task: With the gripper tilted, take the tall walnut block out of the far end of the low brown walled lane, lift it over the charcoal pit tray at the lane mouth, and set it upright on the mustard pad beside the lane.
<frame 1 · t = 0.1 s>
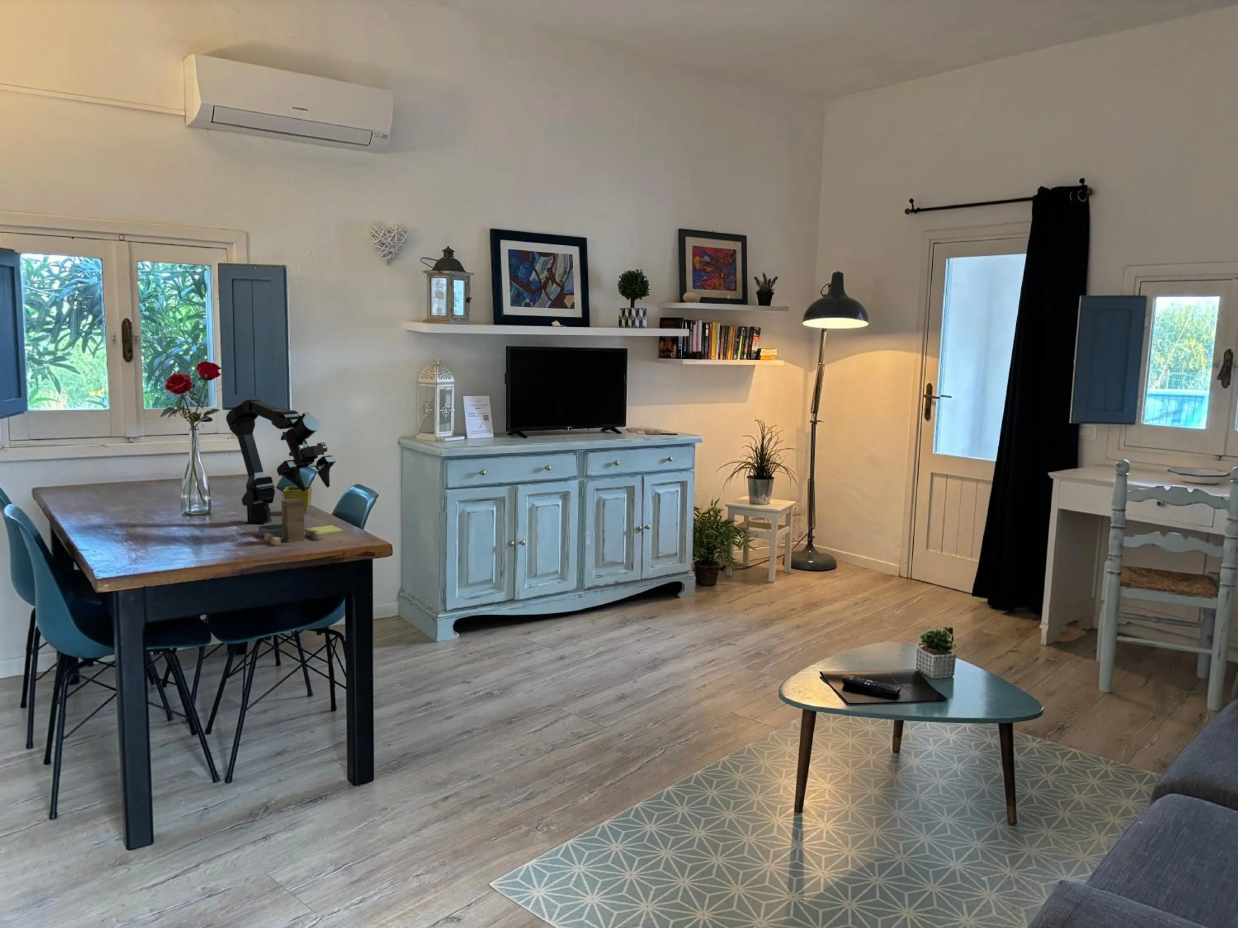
hand: (316, 488, 286), 15 cm above the table, tool tilted 35°, fingers open, 9 cm apart
flower pot: (298, 513, 322), on the table
brown lane walls: (293, 539, 279), on the table
charcoal pit tray: (277, 534, 286), on the table
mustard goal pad: (324, 530, 293), on the table
walnut block: (293, 540, 279), on the table
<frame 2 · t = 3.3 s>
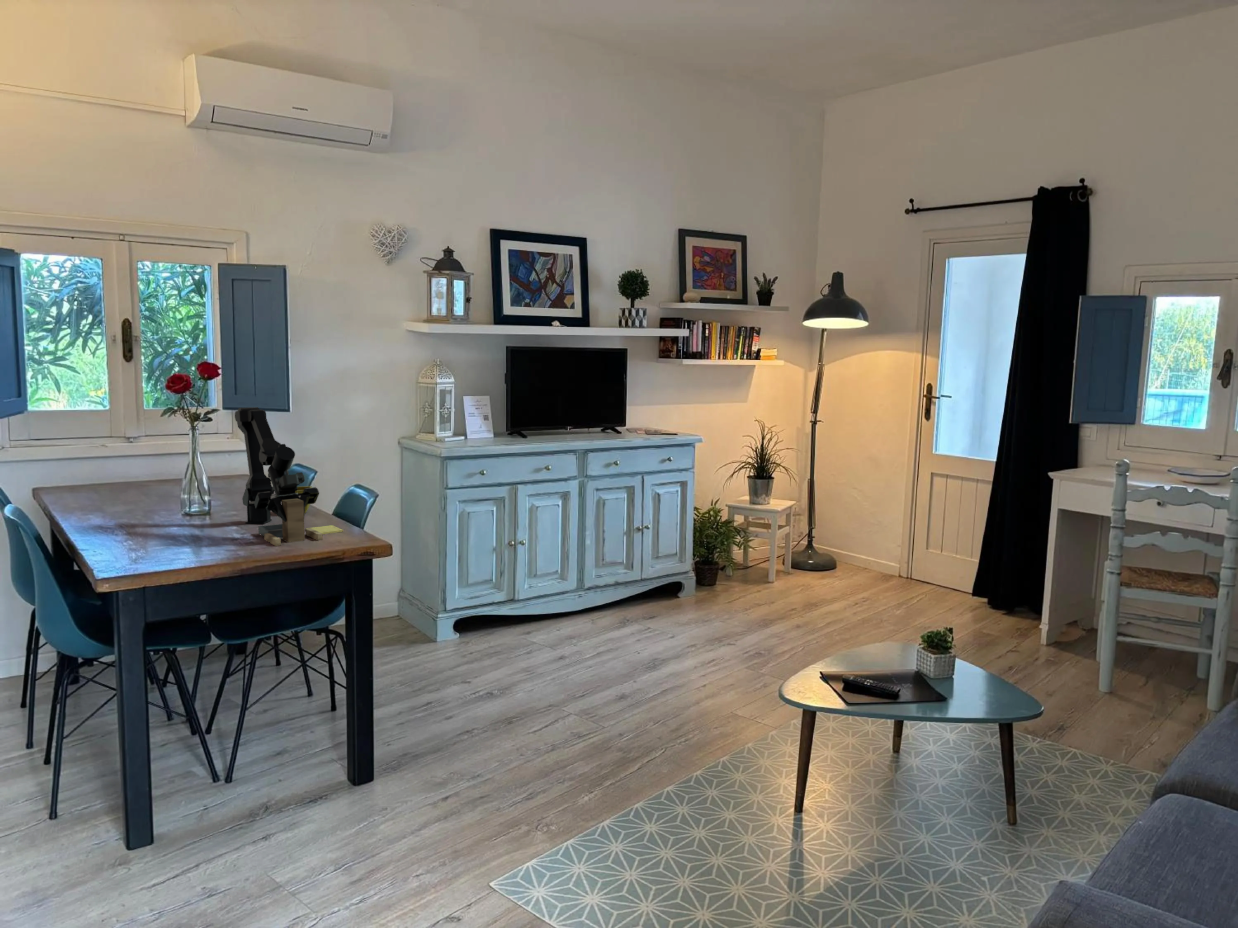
hand: (294, 519, 277), 7 cm above the table, tool tilted 45°, fingers closed on walnut block, 5 cm apart
walnut block: (293, 539, 279), on the table, touching gripper
everything else where it was.
when the fingers open (8 cm above the table, at t = 8.3 s): walnut block stays where it is, resting on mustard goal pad.
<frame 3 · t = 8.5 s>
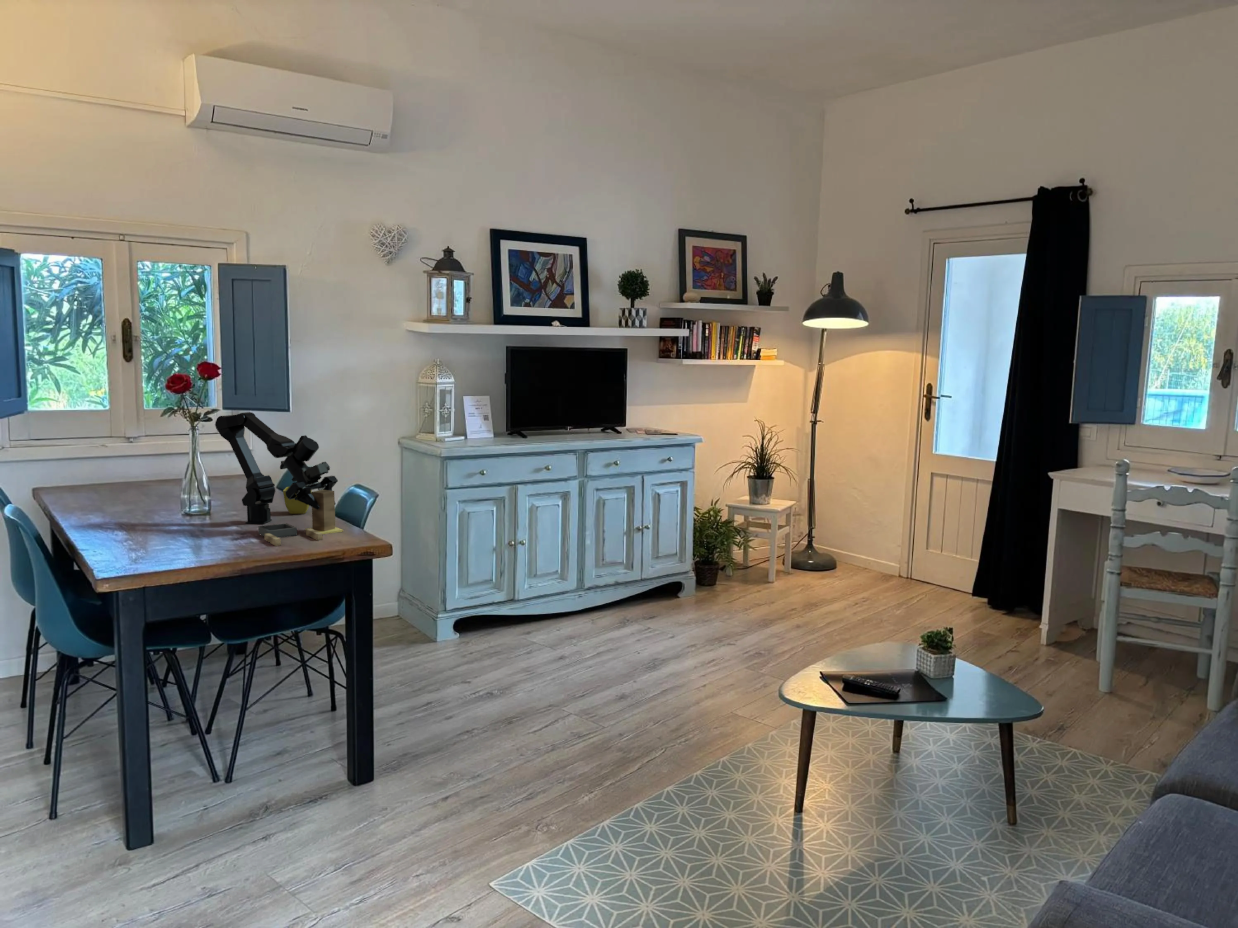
hand: (326, 506, 291), 8 cm above the table, tool tilted 45°, fingers open, 7 cm apart
walnut block: (324, 529, 293), point 1 cm above the table, touching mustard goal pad
everything else where it was.
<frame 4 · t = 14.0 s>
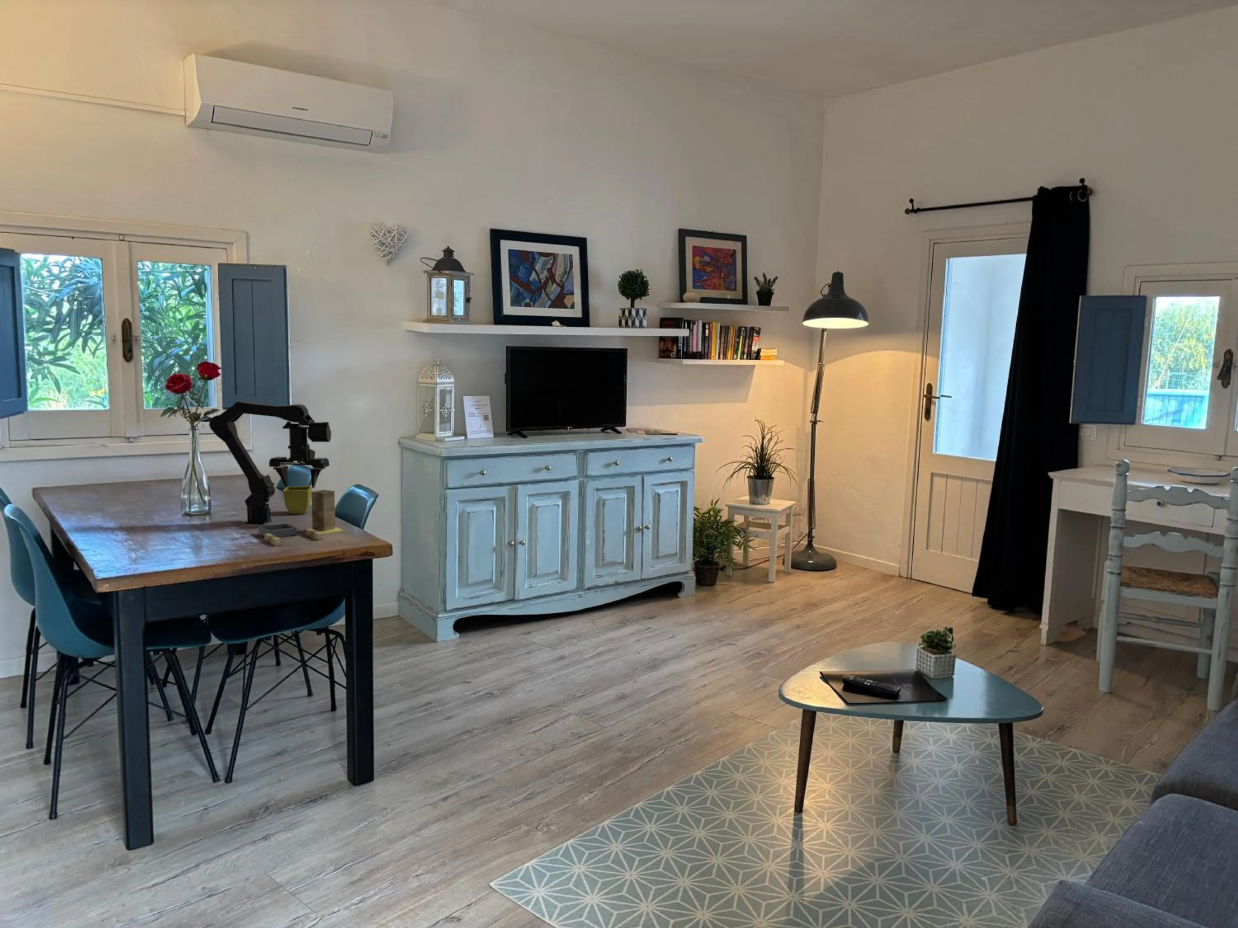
hand: (300, 487, 304), 12 cm above the table, tool pointing down, fingers open, 9 cm apart
nothing on the table moved.
at the end: walnut block inside the target area on the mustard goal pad (0.0 cm from its centre), point 0.6 cm above the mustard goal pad's base; walnut block tilted 0°; the gripper is holding nothing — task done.
